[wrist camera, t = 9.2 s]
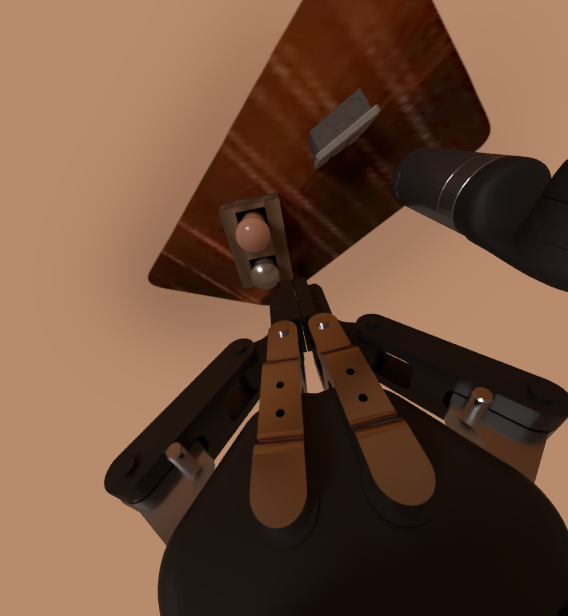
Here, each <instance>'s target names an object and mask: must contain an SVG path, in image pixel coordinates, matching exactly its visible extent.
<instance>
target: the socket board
mask: <svg viewBox="0 0 568 616" xmlns="http://www.w3.org/2000/svg"><path fill="white" fill-rule="evenodd" d="M261 207H265V210H266V214H267V219H268V224H269V230H270V241H269V244H268V245H267V247H266V248H265V249H263V250H261V251H259V252H249V251H246V250H244V249H243V248H242V247H241V246H240V245H239V244H238V242H237V240H236V229H237V226H238V224H239V223H240V222H241V219H240V215H239V212H242V211H246V210H251V209H256V208H261ZM218 212H219V215H220V218H221V221H222V224H223V227H224V230H225V233H226V237H227V240H228V243H229V246H230V249H231V252H232V255H233V258H234V261H235V264H236V267H237V270H238V273H239V276H240V279H241V282H242V285H243V288H244V289H246V288H251V287H256V286H255V285H254V284H253V283H252V281H251V270H252V268H253V267H254V265H253V262H252V259H256V258H261V257H266V256H271V255H275V256H276V261H277V266H278V267H277V268H278V270H279V275H280V278H279V281H278V282H281V281H286V280H291V279H293V274H292V268H291V263H290V257H289V252H288V246H287V240H286V235H285V229H284V223H283V218H282V212H281V207H280V201H279V197H278V194H277V192H275V193H271V194H266V195H261V196H257V197H252V198H247V199H243V200H238V201H233V202H229V203H224V204H222V205H221V207H220V209H219V211H218Z"/></svg>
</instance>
